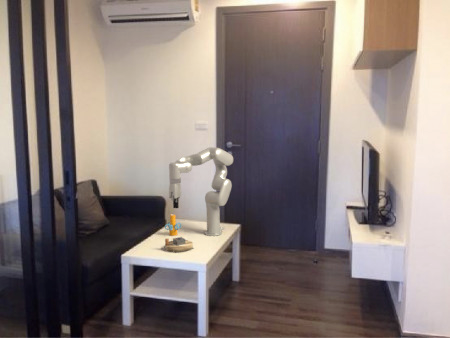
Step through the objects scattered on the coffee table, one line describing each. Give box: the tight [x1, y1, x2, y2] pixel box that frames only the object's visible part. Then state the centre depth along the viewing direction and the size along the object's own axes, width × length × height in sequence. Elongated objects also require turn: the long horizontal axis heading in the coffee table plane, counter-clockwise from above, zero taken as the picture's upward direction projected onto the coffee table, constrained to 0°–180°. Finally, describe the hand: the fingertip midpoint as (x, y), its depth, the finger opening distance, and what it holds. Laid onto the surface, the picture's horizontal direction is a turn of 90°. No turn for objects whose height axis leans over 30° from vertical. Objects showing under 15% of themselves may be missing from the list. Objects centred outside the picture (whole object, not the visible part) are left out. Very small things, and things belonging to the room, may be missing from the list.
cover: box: [172, 236, 186, 246], centre depth 282 cm, size 6×6×4 cm
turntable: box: [164, 238, 194, 253], centre depth 282 cm, size 18×18×6 cm
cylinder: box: [164, 213, 182, 237], centre depth 314 cm, size 12×10×15 cm
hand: (175, 207), depth 289 cm, fingers closed
